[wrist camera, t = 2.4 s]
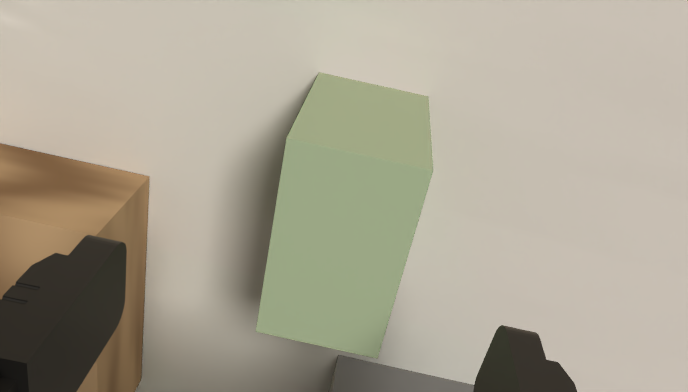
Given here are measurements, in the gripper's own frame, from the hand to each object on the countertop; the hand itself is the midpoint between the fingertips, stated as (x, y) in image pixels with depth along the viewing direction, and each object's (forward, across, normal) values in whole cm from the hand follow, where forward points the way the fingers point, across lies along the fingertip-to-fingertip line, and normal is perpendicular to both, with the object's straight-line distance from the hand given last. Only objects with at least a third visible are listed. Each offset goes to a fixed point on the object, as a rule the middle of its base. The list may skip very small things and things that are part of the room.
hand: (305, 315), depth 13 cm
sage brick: (+8, -1, 0) cm, 8 cm away
